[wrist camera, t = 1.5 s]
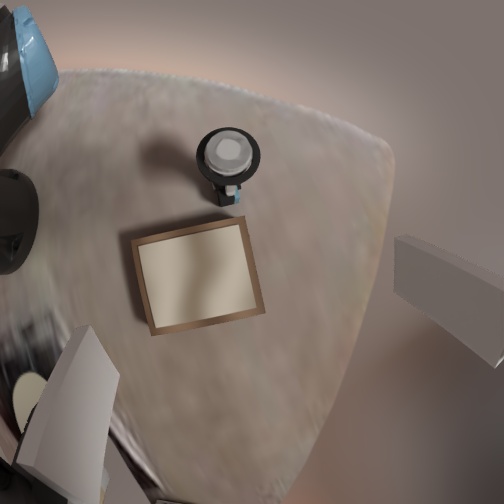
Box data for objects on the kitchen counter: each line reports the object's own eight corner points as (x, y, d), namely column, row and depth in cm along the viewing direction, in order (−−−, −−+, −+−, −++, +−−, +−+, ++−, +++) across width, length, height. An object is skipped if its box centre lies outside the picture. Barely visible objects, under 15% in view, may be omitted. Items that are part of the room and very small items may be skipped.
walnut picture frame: (157, 330, 28) (150, 336, 25) (138, 243, 29) (129, 240, 26) (261, 308, 30) (266, 313, 27) (242, 220, 30) (244, 215, 27)
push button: (196, 160, 30) (187, 116, 20) (240, 150, 31) (248, 104, 21) (208, 213, 30) (202, 187, 20) (254, 202, 31) (270, 172, 21)
